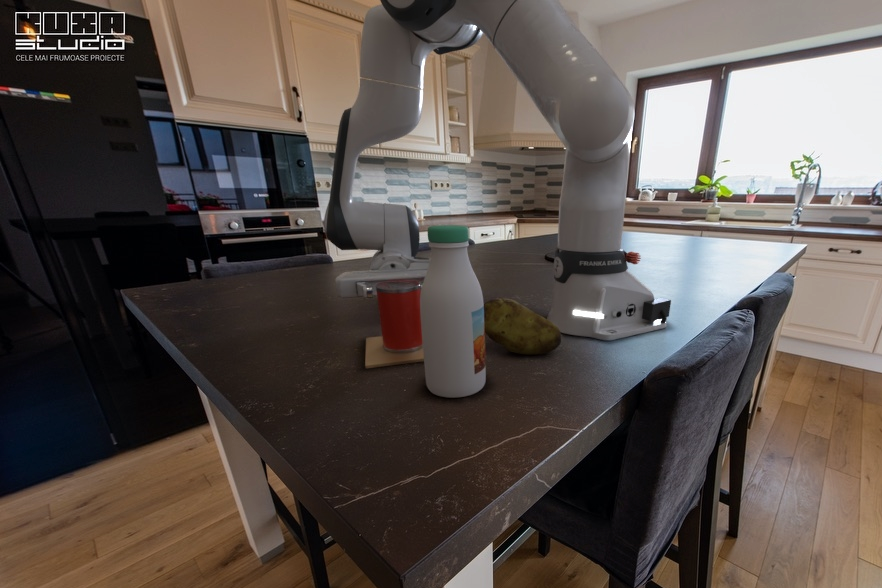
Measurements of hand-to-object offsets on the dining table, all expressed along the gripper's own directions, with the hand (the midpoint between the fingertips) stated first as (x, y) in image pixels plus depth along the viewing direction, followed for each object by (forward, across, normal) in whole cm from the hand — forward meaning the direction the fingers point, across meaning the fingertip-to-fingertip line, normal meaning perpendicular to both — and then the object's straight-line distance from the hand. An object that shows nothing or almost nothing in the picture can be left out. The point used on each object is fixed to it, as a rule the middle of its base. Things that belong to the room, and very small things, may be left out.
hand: (397, 291), depth 67 cm
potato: (+14, +17, +8) cm, 23 cm away
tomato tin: (+8, 0, +7) cm, 10 cm away
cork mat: (+8, 0, +8) cm, 11 cm away
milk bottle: (+23, +5, +8) cm, 25 cm away
